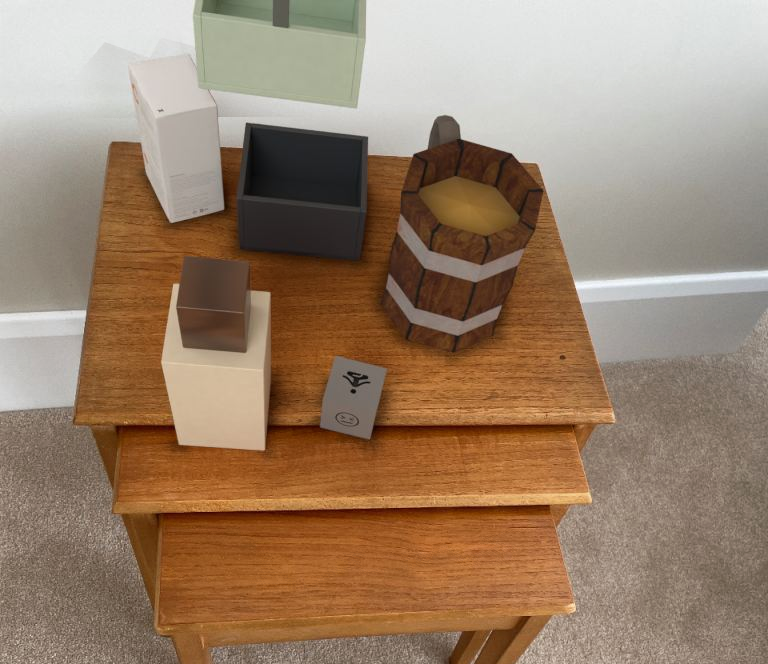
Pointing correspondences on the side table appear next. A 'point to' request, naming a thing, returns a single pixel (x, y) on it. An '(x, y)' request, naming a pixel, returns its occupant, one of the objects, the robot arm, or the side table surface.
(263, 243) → the black open box
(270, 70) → the basket with handle
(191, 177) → the small box
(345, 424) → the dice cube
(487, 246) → the mug
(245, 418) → the stand
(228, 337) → the block
